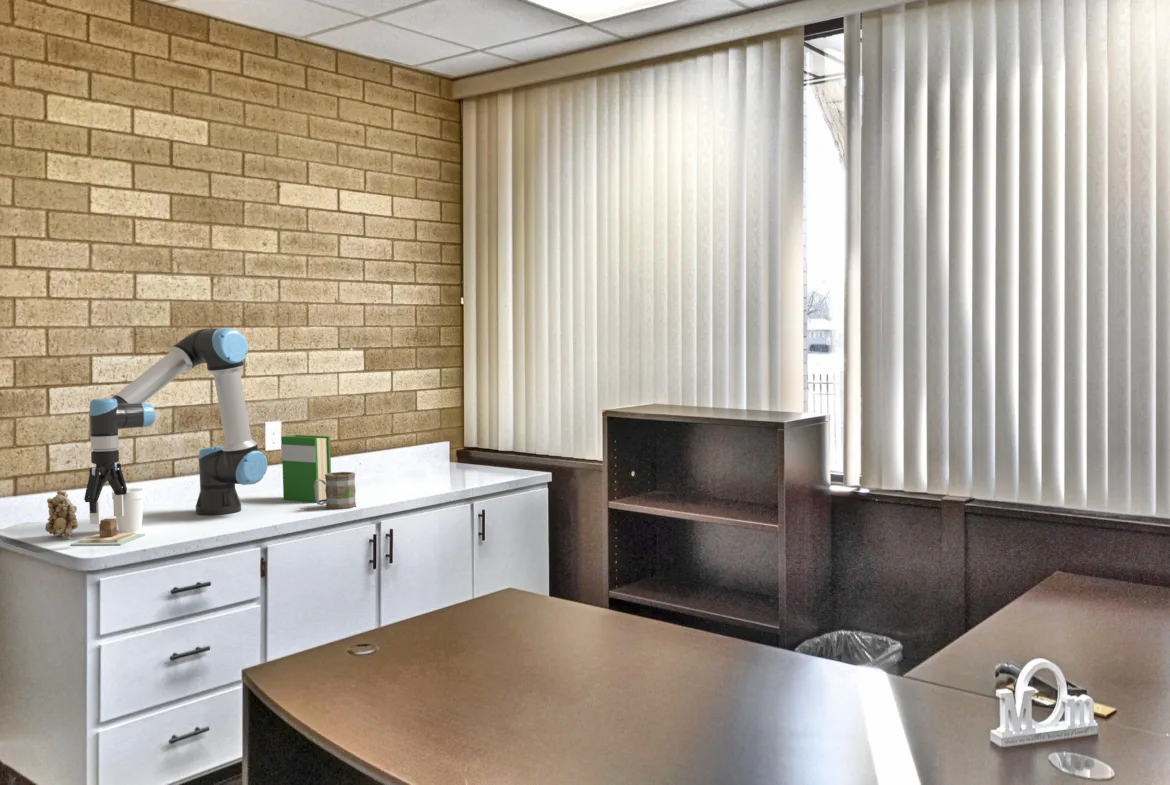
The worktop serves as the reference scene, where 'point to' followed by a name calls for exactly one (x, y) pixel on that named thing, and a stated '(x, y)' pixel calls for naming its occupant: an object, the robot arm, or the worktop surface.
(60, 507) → the mineral formation
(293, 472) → the hardback book
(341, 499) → the mug
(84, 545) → the mat
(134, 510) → the foam cup
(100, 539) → the lid
